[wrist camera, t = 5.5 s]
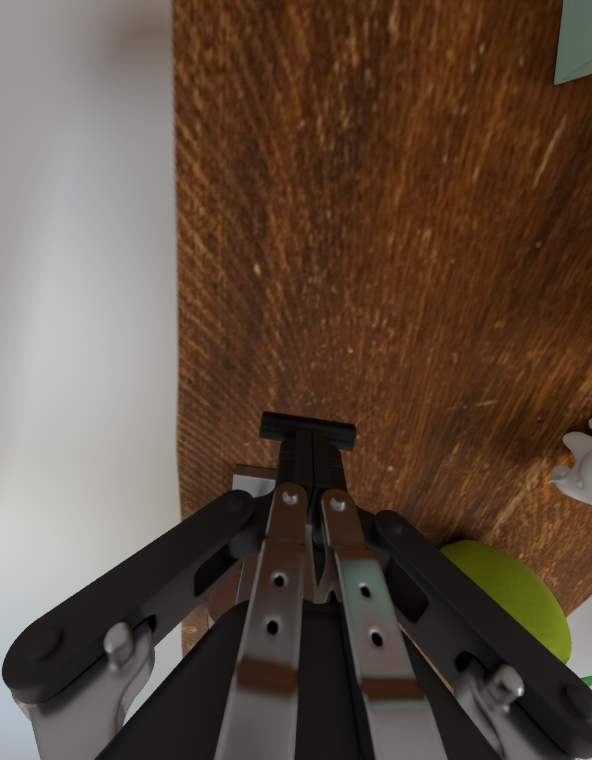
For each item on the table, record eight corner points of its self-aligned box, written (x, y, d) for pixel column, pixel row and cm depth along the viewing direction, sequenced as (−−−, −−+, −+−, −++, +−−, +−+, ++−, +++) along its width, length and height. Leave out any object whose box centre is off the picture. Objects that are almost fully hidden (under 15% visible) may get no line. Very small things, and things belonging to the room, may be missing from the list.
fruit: (430, 512, 25) (502, 664, 16) (526, 527, 25) (650, 682, 16) (396, 571, 29) (438, 719, 20) (480, 582, 29) (558, 732, 20)
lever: (265, 406, 16) (260, 416, 13) (350, 419, 16) (361, 431, 14) (228, 652, 17) (219, 700, 15) (306, 660, 18) (308, 709, 15)
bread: (210, 609, 33) (195, 666, 28) (218, 552, 28) (201, 610, 24) (300, 622, 34) (299, 679, 29) (323, 568, 29) (326, 627, 24)
